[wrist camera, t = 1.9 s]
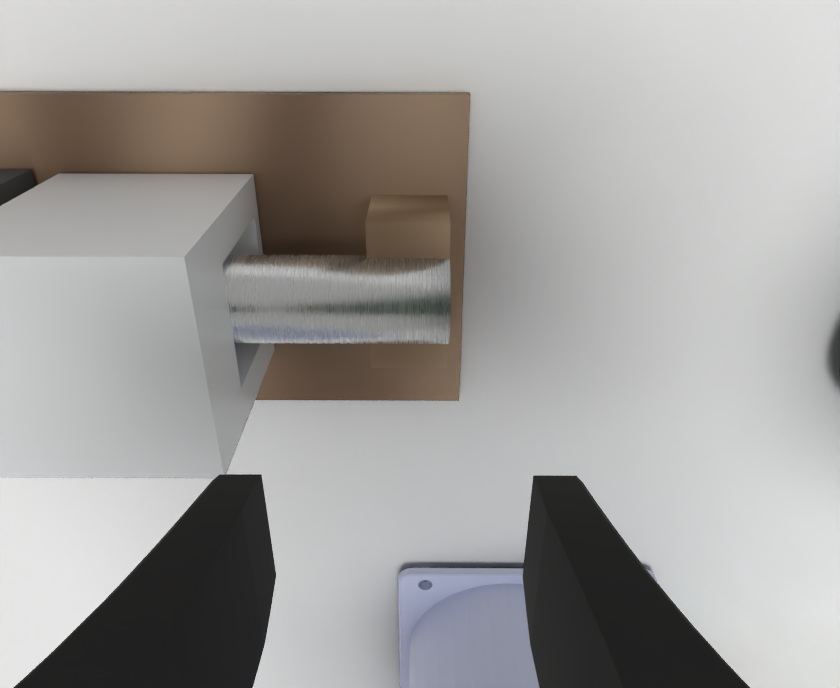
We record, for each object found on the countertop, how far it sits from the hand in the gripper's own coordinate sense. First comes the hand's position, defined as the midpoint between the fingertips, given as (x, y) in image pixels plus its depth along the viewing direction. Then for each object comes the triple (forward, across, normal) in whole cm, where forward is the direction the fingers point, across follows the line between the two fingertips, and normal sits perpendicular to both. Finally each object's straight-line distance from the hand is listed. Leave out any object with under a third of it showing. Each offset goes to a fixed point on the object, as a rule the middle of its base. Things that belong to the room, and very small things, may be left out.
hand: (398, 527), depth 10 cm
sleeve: (+10, +6, 0) cm, 12 cm away
